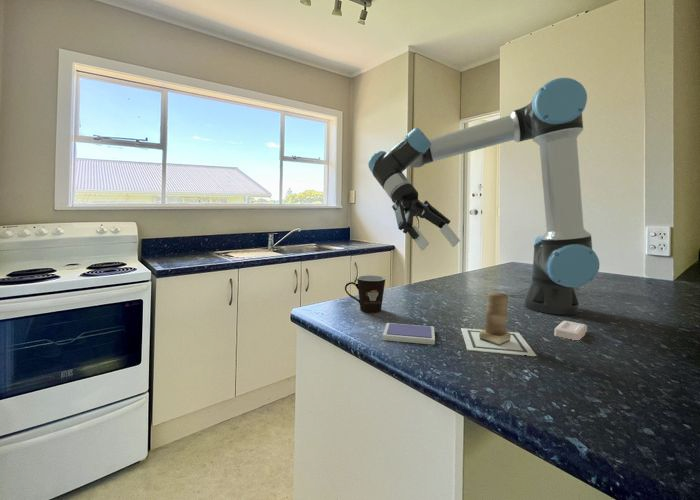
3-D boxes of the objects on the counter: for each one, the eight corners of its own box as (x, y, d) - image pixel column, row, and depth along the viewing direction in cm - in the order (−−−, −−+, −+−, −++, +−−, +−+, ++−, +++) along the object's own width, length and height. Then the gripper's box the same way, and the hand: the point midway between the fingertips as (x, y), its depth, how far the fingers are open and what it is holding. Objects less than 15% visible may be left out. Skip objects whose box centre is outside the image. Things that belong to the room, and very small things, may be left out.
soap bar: (586, 333, 88) (587, 324, 87) (579, 343, 81) (579, 333, 81) (562, 328, 91) (563, 319, 91) (553, 337, 85) (554, 327, 85)
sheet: (518, 333, 86) (519, 332, 86) (536, 356, 72) (536, 355, 72) (460, 328, 89) (461, 327, 89) (467, 350, 75) (467, 348, 75)
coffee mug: (387, 307, 107) (388, 276, 106) (380, 315, 99) (381, 281, 98) (352, 304, 111) (353, 273, 110) (343, 311, 103) (343, 278, 102)
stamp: (479, 339, 81) (481, 294, 80) (490, 334, 84) (493, 291, 83) (499, 346, 77) (502, 298, 76) (510, 341, 80) (513, 295, 79)
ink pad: (433, 331, 87) (433, 325, 87) (434, 344, 78) (434, 338, 78) (386, 327, 90) (386, 322, 89) (382, 339, 81) (382, 334, 81)
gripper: (421, 201, 113) (459, 250, 103) (364, 200, 97) (402, 258, 87) (434, 184, 108) (476, 233, 98) (376, 180, 92) (419, 238, 82)
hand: (441, 245), depth 92 cm, fingers open, 13 cm apart
